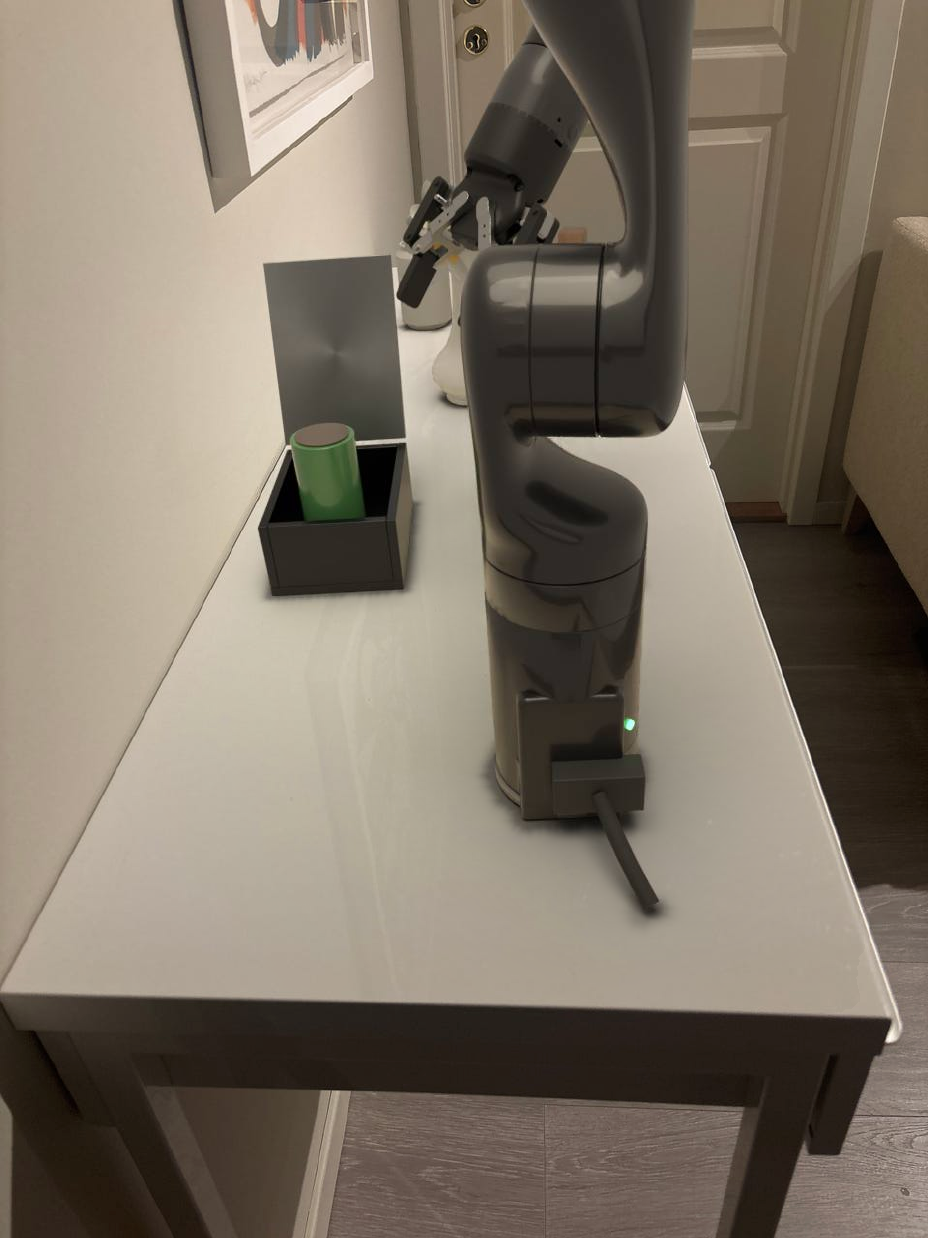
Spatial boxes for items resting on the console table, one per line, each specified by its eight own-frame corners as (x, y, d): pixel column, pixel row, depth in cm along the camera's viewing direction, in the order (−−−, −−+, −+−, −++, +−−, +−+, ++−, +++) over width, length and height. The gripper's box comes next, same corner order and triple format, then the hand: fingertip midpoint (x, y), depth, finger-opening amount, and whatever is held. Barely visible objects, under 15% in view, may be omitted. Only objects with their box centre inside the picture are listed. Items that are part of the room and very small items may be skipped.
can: (395, 322, 146) (386, 239, 139) (440, 312, 148) (434, 231, 141) (414, 335, 140) (406, 249, 133) (460, 325, 142) (455, 240, 136)
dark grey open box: (403, 588, 83) (395, 520, 79) (272, 595, 84) (257, 527, 80) (413, 504, 96) (406, 441, 92) (298, 511, 97) (287, 449, 93)
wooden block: (563, 276, 159) (563, 225, 155) (587, 277, 158) (587, 226, 154) (557, 283, 156) (557, 231, 152) (582, 284, 155) (582, 232, 151)
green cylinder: (369, 573, 84) (350, 445, 77) (308, 576, 84) (284, 449, 78) (374, 542, 89) (357, 419, 82) (316, 545, 89) (294, 422, 82)
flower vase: (414, 431, 111) (390, 200, 97) (429, 373, 126) (410, 167, 112) (526, 427, 110) (519, 193, 96) (528, 369, 125) (521, 160, 111)
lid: (390, 254, 86) (391, 254, 87) (262, 262, 87) (264, 262, 87) (405, 438, 92) (406, 436, 92) (285, 445, 92) (287, 444, 93)
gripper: (446, 88, 77) (355, 275, 80) (565, 109, 68) (458, 319, 71) (502, 141, 83) (416, 314, 86) (620, 167, 74) (519, 360, 76)
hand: (435, 316), depth 78 cm, fingers open, 8 cm apart
